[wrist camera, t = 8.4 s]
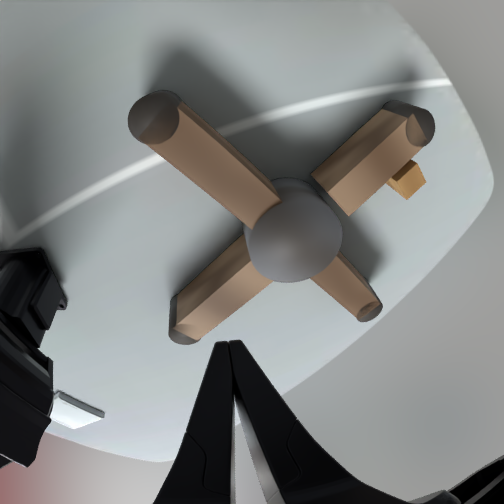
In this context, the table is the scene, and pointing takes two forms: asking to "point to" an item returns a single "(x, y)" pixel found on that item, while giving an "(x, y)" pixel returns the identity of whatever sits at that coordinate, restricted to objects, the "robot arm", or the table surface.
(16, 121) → the table surface
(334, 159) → the folding leg
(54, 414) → the hard drive
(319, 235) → the stool base
